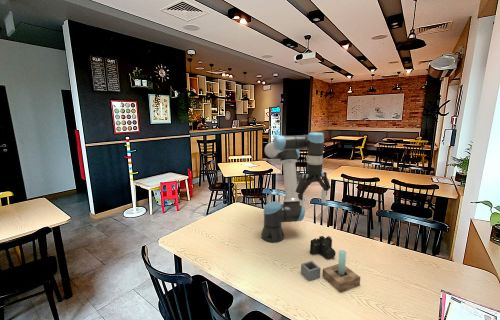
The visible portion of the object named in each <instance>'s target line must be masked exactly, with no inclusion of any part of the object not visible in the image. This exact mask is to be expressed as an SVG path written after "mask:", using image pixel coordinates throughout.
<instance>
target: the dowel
mask: <svg viewBox="0 0 500 320" xmlns="http://www.w3.org/2000/svg"><path fill="white" fill-rule="evenodd" d="M346 260H347V251H346V250H344V249H343V250H342V249H341V250H339V252H338V263H337V264H338V275H339V276H340V277H343V276H344V274H345V266H346Z"/></svg>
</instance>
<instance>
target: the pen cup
mask: <svg viewBox="0 0 500 320" xmlns="http://www.w3.org/2000/svg"><path fill="white" fill-rule="evenodd" d="M300 274H301V275H302V276H303V277H304V278H305V279H306V280H307V281H308V282H311V281H314V280H317V279H320V278H321V267H320V266H319V265H318V264H316V263H315V262H314V261H313V260H309V261H306V262H304V263H301V264H300Z"/></svg>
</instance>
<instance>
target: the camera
mask: <svg viewBox="0 0 500 320" xmlns="http://www.w3.org/2000/svg"><path fill="white" fill-rule="evenodd" d="M309 254H310V255H311V256H315V255H321V256H324V257H325V258H326V259H327V260H333V259H334V258H335V257H336V250H335V249H334V248H333V239H332V237H331V236H330V235H328V236H326V237H325V236H324V235H319V237H316V238H313V239H311V240H310V248H309Z"/></svg>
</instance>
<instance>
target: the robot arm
mask: <svg viewBox="0 0 500 320" xmlns="http://www.w3.org/2000/svg"><path fill="white" fill-rule="evenodd" d="M324 135H325V134H324V133H323V132H315V131H314V132H312V131H311V132H309V133H308V134H303V135H302V134H301V135H299V134H298V135H275V136H274V137H273V142H269V143H267V144H266V145H265V146H264V150H263V151H264V155H265V156H266V157H268V158H269V159H273V160H279V161H280V163H281V165H282V171H283V173H282V174H283V183H284V185H283V186H284V194H285V195H284V197H285V198H284V200H283V203H282V202H280V201H270V202H267V203H266V204H265V205H264V207H263V208H264V209H263V227H262V230H261V232H260V233H261V234H260V235H261V236H260V237H261V239H262V240H263V241H265V242H266V243H279V242H282V241H283V240H284V238H285V235H284V234H285V233H284V229H283V227H282V224H283V223H294V222H295V223H296V222H302V221H303V220H304V218H305V215H306V208H305V196H306V195H305V191H306V190H307V189H308V187H309V185H310V184H312V183H316V182H317V183H318V185H320V186H321V197H320V198H321V199H320V201H321V202H322V203H324V204H326V203H327V202H326V201H327V195H328V191H330V189H331V188H332V187H331V184H330V181H329V178H328V175H327V174H328V173H327V172H326V171H323V161H324V159H323V158H324V145H325V143H324V142H325V136H324ZM300 150H307V151H306V152H307V156H306V163H307V164H306V171H307V172H306V174H305V173H302V174H301V177H300V179H299V182H298V180H297V168H296V167H297V166H296V163H297V162H298V159H299V158H300V155H301V154H300Z"/></svg>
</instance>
